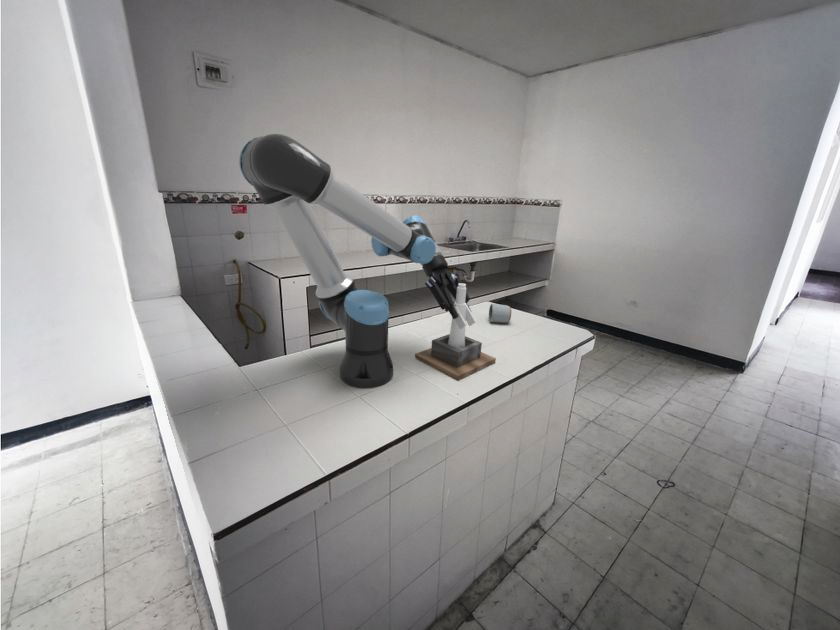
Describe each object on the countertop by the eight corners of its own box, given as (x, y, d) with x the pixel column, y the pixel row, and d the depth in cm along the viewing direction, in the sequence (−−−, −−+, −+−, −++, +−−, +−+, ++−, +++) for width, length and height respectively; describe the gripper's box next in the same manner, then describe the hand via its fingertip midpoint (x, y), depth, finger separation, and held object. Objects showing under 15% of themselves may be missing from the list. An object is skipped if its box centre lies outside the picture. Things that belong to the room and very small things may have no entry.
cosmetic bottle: (442, 350, 116) (447, 282, 109) (457, 346, 119) (463, 280, 112) (454, 357, 111) (460, 287, 104) (469, 353, 115) (476, 285, 107)
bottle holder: (458, 380, 104) (460, 359, 102) (415, 358, 116) (416, 339, 114) (495, 362, 116) (497, 343, 114) (452, 343, 128) (454, 326, 126)
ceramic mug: (510, 325, 149) (513, 307, 146) (490, 324, 148) (492, 306, 146) (505, 317, 159) (507, 300, 156) (486, 316, 158) (488, 299, 156)
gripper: (443, 264, 123) (477, 325, 118) (406, 270, 112) (442, 337, 106) (456, 251, 118) (493, 314, 112) (419, 256, 107) (457, 325, 101)
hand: (468, 325), depth 109 cm, fingers closed on cosmetic bottle, 4 cm apart
